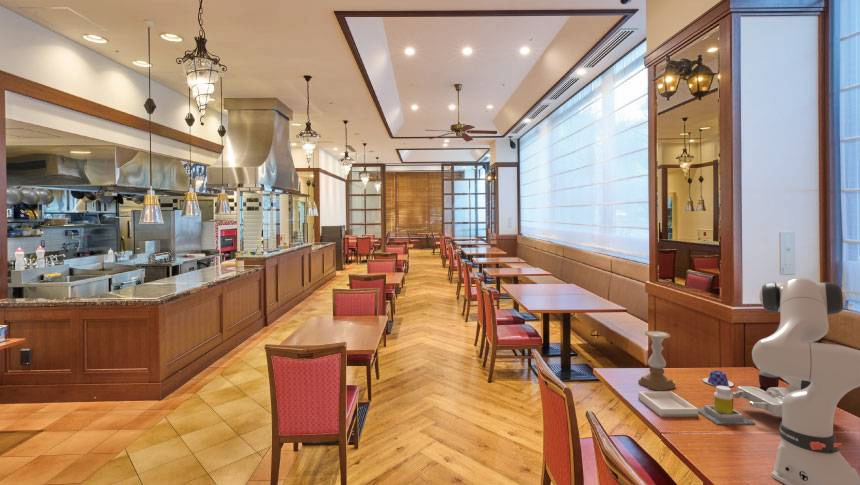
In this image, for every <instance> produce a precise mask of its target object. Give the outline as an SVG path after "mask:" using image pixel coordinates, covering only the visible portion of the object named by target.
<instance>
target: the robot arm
mask: <svg viewBox="0 0 860 485" xmlns="http://www.w3.org/2000/svg"><path fill="white" fill-rule="evenodd" d="M841 287H842V286H840V285H839V284H837V283H834V282H829V281H824V282H816V281H813V280H810V279H809V278H805V277H804V278H803V277H799V278H793V279H789V280H787V281H778V282H776V281H771V282H767V283H764V284H763V285H762V286H761V289H760V291H759V300H760V303H761V305H762V307H763V309H765V310H766V311H768V312H771V313H777V314H778V313H780V320H779V321H780V322H779V324H778V325H777V327H776V331H774V333H772V334H770V335H769V336H766V337H764V338H761V339H759V340H758V341H757V342H756V343H755V344H754V346H753V347H752V350H751V358H752V362H753V364H754V365H755V366H756V368H757V369H758V370H759V372H761V371H762V372H765V373H768V374H772V375H775V376H778V377H779V379H782V380H783V381H785V382H786V383H788V386H786V387H785V386H782V387H781V386H778V387H770V388H768V389H767V391H766V390H765V389H762V388H760V387H756V386H748V385H739V386H737V388H736V391H732V392H731V395H732V396H733V398H735V399H740V397H741V398H742V399H745V400H746V401H749V406H750V407H751V408H752V409H761V410H765V411H767V412H769V413H771V414H773V415H777V416H781V417H782V418H781V421H780V423H779V436H780V437H781V438H780V442H779V444H778V447H777V450H776V457H775V462H774V463H775V464H774V466H773V470H772V471H771V477H772V478H773V479H775V480H777V481H778V482H779V483H780V482H781V483H782V484H783V485H860V475H859V473H858V471H857V470H856V468H853V467H852V466H851V465H850V463H849V462H848V461H847V459H846V458H845V457H844V456H843V455H842V454H841V452H840V449H839V448H843V446H842V445H843V443H842V442H837V439H836V438H837V437H836V436H835V434H834V420H835V419H834V418H835V413H836V408H837V405H838V403H839V402H840V401H841V399H842V398H843V397H844V396H845V395H847V394H848V393H849V392H851V391H852V390H854V389H857V388H859V387H860V350H859V349H855V348H852V347H848V346H845V345H840V344H833V343H832V344H831V343H825V342H824V343H822V342H816V341H819V340H821V339H822V338H824V336H826V335H827V334H828V332H829V329H830V325H829V319H828V315H830V316H831V315H836V314H839V313H840V312H842V311H844V310H843V309H844V307H845V306H846V300H847V299H846V293H845V292H844V290H843V289H842V288H841Z"/></svg>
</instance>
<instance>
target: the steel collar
mask: <svg viewBox="0 0 860 485" xmlns="http://www.w3.org/2000/svg"><path fill="white" fill-rule="evenodd" d="M697 408H698V414H700V415H701V416H703V417H705V418H706V419H707V420H709V421H710V422H712V423H714V424H715V425H716V426H720V425H721V426H723V425H725V426H733V425H734V426H735V425H741V426H742V425H743V426H747V425H752V426H753V425H754V426H755V425H756V422H754V421H753V420H751V419H750V418H748V417H746V416H744V414H743V413H740V412H739V411H737V410H736V409H734V408H733V414H719V413H718V412H716V411H714V410H713V408H714V404H712V405H707V404H706V405H704V407H697Z"/></svg>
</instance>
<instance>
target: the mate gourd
mask: <svg viewBox="0 0 860 485" xmlns="http://www.w3.org/2000/svg"><path fill="white" fill-rule="evenodd" d="M758 383H759V385H760V386H759V389H761V390H765V391H767V389H768V388H770V387H779V383H780V377H778V376H775V375H772V374H768V373H765V372H762V371H759V374H758Z"/></svg>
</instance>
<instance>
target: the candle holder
mask: <svg viewBox="0 0 860 485" xmlns="http://www.w3.org/2000/svg"><path fill="white" fill-rule="evenodd" d="M670 334H671V333H668V332H665V331H659V330H647V331H645V332H644V335H645V336H646V337H648V338H649V337H650V339H651V341H652V344H651V346H650V348H651V351H652V353H651V355H650V357H649V358H648V360H647V364H648V366H650V367H649V369H648V370H649V372H650V373H648V374H647V375H643V376H641V377H640V379H638V382H637V384H638V385H640V386H643V387H646V388H649V389H651V390H653V391H668V390H671V389H676V383H675V382H674V381H673V380H672V379H671V378H668V377H667V376H665V375H664V374H665V369H664V368H665V367H666V365H667V362H666V360H665V358H664V356H663V355H662V352H663V350H664V346H663V345H662V343H663V341H664V339H668V338H670V337H671V335H670Z"/></svg>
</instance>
